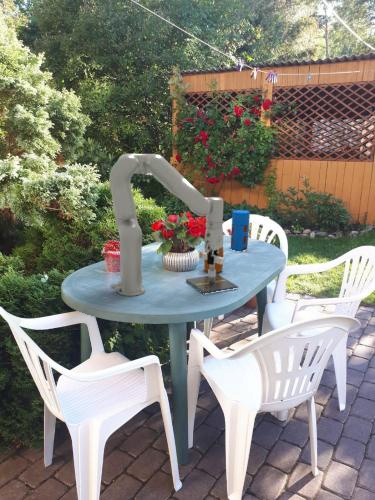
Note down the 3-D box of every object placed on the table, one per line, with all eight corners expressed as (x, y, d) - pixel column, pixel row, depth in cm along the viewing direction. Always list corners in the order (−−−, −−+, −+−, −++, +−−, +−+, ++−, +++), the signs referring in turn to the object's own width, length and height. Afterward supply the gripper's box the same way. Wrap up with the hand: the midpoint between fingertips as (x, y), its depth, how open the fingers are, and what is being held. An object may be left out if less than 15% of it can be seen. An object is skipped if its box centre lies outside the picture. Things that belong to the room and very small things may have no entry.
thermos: (227, 248, 245) (229, 210, 238) (241, 247, 249) (243, 209, 242) (236, 252, 235) (238, 213, 228) (250, 251, 240) (253, 212, 233)
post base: (203, 294, 166) (204, 278, 164) (186, 281, 182) (186, 266, 180) (237, 289, 174) (238, 273, 172) (217, 277, 189) (218, 262, 187)
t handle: (220, 272, 170) (220, 258, 168) (198, 265, 180) (199, 251, 179) (223, 271, 172) (224, 257, 170) (202, 264, 182) (203, 251, 180)
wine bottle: (223, 268, 203) (226, 214, 195) (220, 274, 194) (223, 217, 186) (206, 267, 205) (208, 213, 197) (202, 272, 196) (204, 216, 188)
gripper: (212, 228, 161) (210, 269, 166) (230, 223, 174) (228, 260, 179) (197, 226, 165) (196, 265, 170) (216, 221, 178) (214, 257, 183)
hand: (212, 262), depth 175 cm, fingers closed on t handle, 3 cm apart
